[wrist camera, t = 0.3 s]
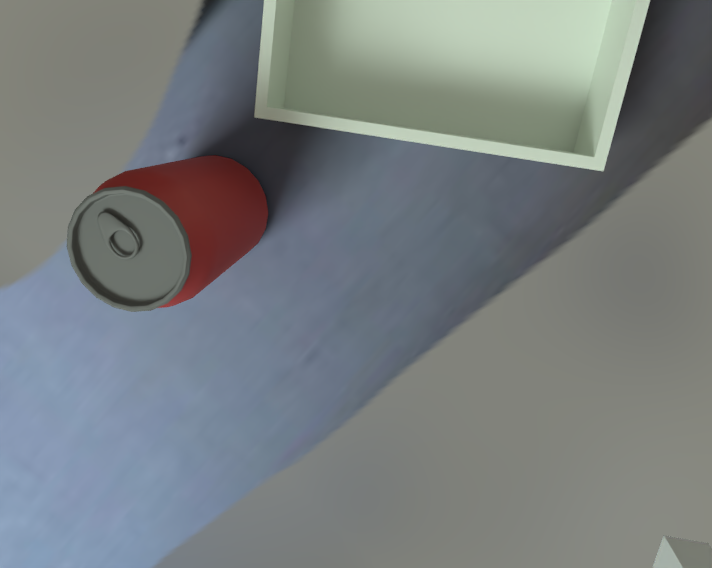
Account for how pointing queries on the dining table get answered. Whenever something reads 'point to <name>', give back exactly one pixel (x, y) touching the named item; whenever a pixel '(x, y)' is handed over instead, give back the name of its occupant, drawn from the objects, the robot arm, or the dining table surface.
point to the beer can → (165, 231)
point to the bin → (455, 72)
